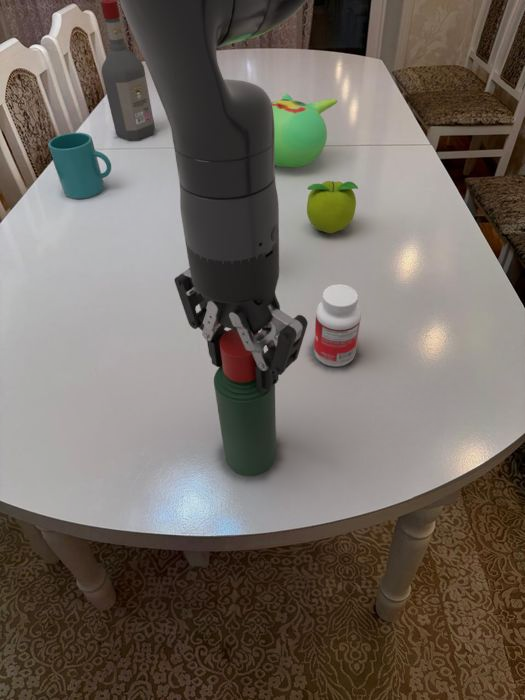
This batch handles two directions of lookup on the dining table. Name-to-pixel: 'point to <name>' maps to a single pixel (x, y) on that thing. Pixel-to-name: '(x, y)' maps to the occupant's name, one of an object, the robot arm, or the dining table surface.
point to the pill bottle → (337, 325)
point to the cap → (236, 358)
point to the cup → (78, 165)
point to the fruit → (331, 205)
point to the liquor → (125, 82)
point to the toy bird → (298, 131)
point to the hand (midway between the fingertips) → (243, 373)
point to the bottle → (246, 424)
